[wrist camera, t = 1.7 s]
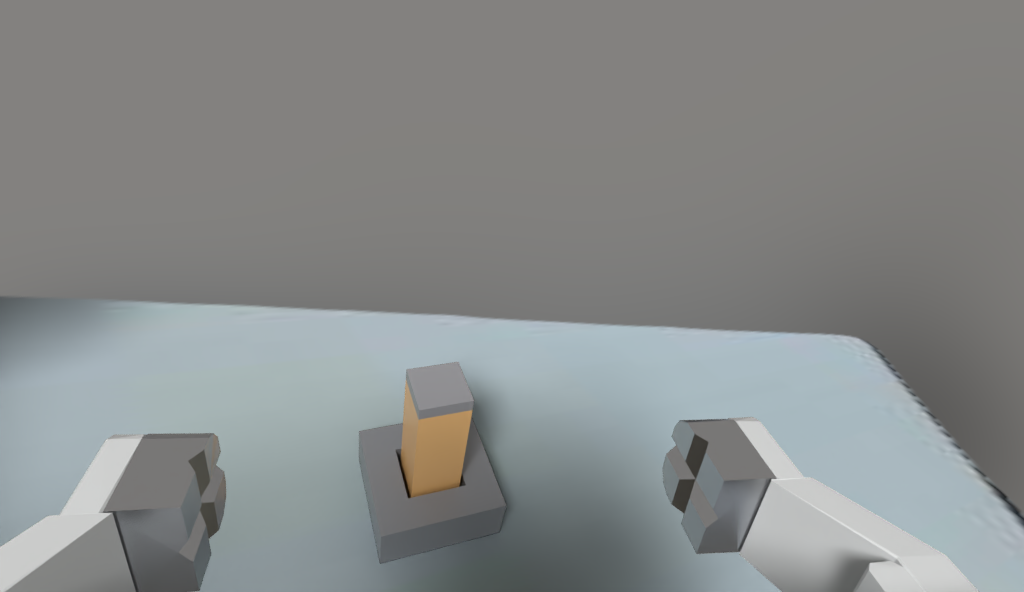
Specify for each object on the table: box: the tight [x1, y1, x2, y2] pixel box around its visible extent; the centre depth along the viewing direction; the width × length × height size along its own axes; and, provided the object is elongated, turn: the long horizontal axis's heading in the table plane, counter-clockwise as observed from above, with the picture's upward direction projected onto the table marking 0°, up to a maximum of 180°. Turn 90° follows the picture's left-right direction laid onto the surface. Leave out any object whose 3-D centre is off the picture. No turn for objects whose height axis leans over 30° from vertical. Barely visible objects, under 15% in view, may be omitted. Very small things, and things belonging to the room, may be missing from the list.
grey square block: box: [359, 416, 506, 564], centre depth 51 cm, size 10×10×4 cm
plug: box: [400, 362, 474, 498], centre depth 48 cm, size 4×4×14 cm
